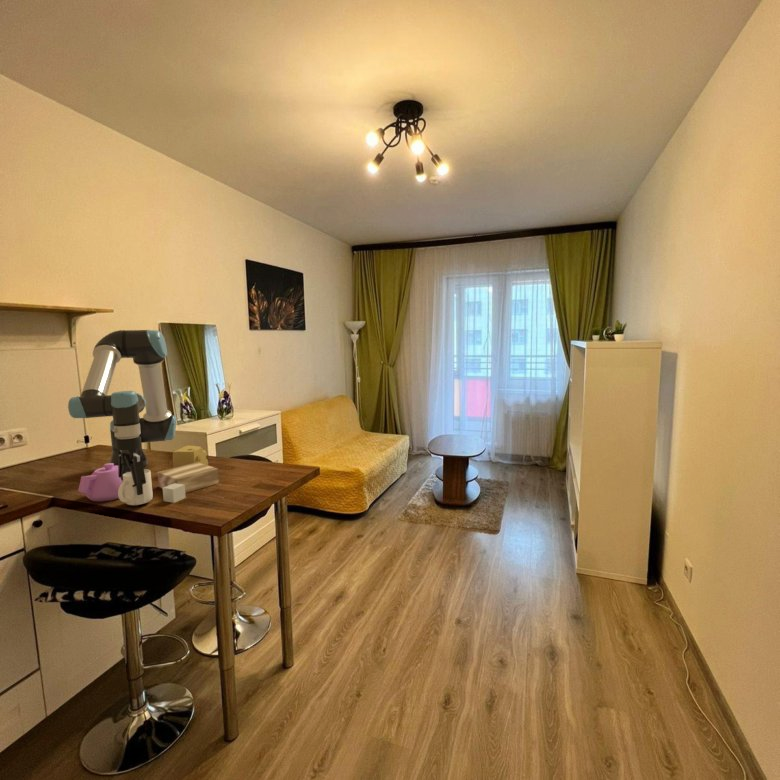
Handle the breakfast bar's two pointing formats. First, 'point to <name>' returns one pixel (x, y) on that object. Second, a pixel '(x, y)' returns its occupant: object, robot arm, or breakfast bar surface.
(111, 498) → the teapot
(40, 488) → the breakfast bar surface
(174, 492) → the beige block
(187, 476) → the oak block
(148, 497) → the mug
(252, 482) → the breakfast bar surface
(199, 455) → the cheese
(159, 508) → the breakfast bar surface
